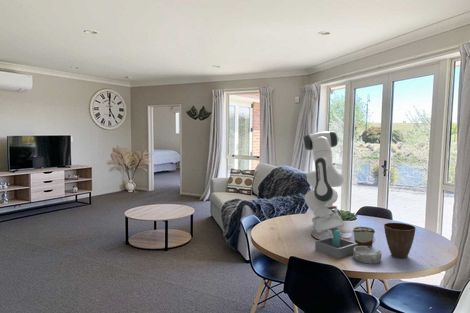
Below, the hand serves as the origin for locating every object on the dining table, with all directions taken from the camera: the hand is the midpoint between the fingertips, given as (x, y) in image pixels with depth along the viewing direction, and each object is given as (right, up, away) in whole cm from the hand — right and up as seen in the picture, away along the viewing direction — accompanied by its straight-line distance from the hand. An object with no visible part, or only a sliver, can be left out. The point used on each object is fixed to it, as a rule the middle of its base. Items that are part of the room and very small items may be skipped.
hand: (337, 236), depth 181 cm
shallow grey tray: (0, -8, +1) cm, 8 cm away
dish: (+12, -10, -11) cm, 19 cm away
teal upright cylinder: (0, -6, +1) cm, 6 cm away
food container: (+18, -8, +11) cm, 23 cm away
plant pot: (+31, -9, -7) cm, 33 cm away
